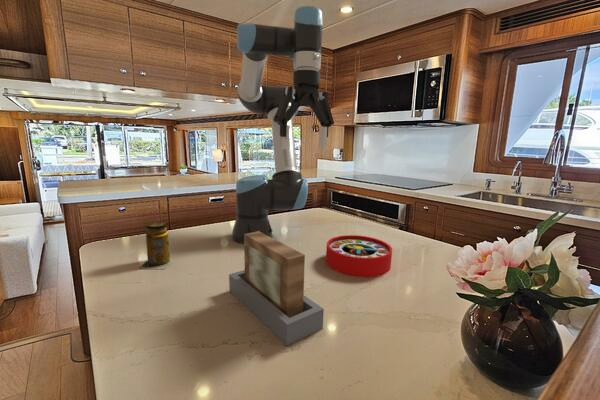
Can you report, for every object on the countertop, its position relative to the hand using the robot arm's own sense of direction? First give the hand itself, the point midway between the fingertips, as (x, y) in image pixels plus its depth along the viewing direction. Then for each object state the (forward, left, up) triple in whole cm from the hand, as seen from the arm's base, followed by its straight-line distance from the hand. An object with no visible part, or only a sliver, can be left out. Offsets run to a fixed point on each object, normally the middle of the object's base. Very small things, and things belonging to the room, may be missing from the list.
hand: (304, 149), depth 88 cm
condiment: (-23, -37, -35) cm, 56 cm away
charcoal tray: (+17, -22, -35) cm, 44 cm away
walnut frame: (+17, -22, -33) cm, 43 cm away
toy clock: (+11, +14, -35) cm, 39 cm away
